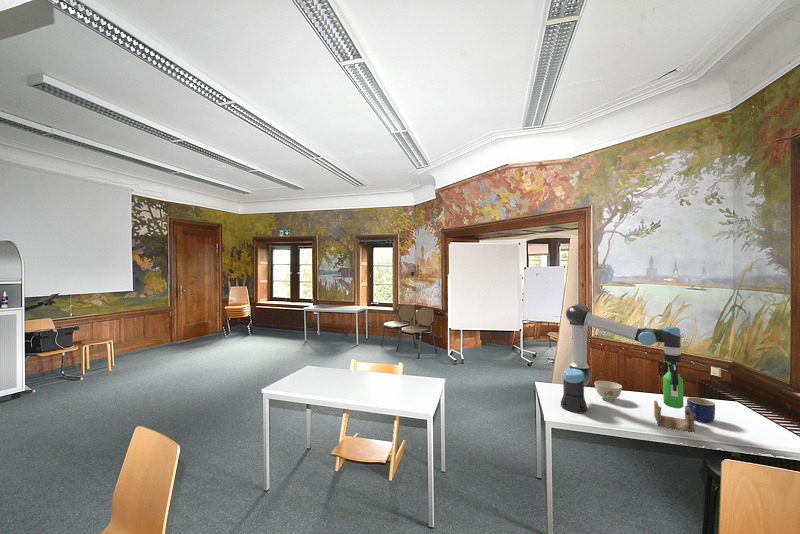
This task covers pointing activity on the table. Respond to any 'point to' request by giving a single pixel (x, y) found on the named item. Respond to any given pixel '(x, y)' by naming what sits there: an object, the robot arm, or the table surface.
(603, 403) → the table surface
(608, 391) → the bowl
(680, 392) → the bottle
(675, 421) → the holder
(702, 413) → the planter
